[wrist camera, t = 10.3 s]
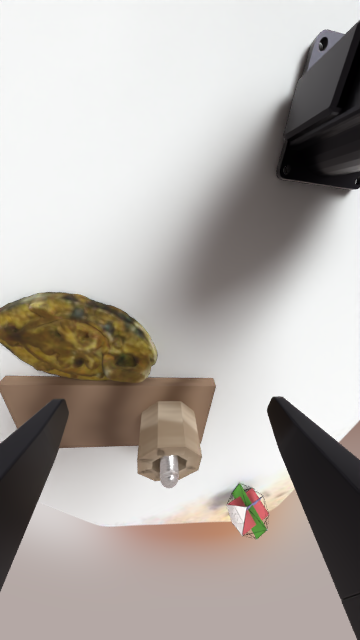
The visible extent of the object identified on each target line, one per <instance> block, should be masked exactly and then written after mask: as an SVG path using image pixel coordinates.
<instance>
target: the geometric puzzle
mask: <svg viewBox="0 0 360 640" xmlns="http://www.w3.org/2000/svg"><path fill="white" fill-rule="evenodd" d="M242 485H244V484H242ZM244 486H245V485H244ZM248 487H249V486H248ZM246 490H249V489H246ZM254 490H255V489H253V488H250V490H249V491H247V492H246V493H245V490H244V489H243V488H242V486H241V483H240V482H239V484H238V486H237V487H236V488H235V490H234V491H233V493H232V494H233V496H234V498H235V500H233V501H232V502H230V503H229V504H228V503H227V504H226V505H227V508H228V511H229V515H230V518H231V521H232V523H233V524H234V526H235V527H236V528H237V530H238V531H239V532H240V533H241V535H242V536H244V534H245V533H247V532H248V531H249V530H250V529H252V531H253V533H254V535H255V537H256V539H258V538H259V537H260V536H261V535H262V534H263V533H264V532H265V531H267V529H266V527H265V525H264V523H263V522H262V520H263V519H264V518H265V517H267V516H269V514H268V512H267V510H268V509H267V510H266V509H265V505H264V506H263V504H262V502H261V501H260V499H261V498H262V497H263V498H264V495H263V496H262V497H260V498H259V497H258V496H257V494H256V493H255V492H256V491H254ZM257 493H258V492H257ZM232 494H231V495H232ZM261 495H262V494H261ZM230 497H232V496H230ZM230 499H231V498H230ZM264 500H265V499H264ZM266 507H267V506H266ZM247 535H248V534H247Z"/></svg>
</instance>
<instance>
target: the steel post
mask: <svg viewBox="0 0 360 640" xmlns="http://www.w3.org/2000/svg"><path fill="white" fill-rule="evenodd" d="M178 479H179V470H178V456H177V455H173V456H162V457H160V480H161V483H162V485H163V486H164V487H166V488H172V487H174V486H175V485H176V484H177V482H178Z"/></svg>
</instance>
